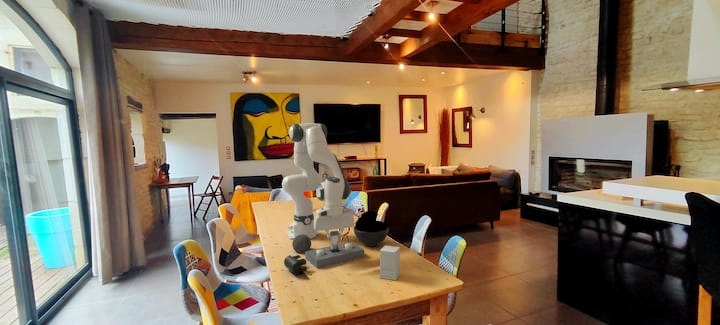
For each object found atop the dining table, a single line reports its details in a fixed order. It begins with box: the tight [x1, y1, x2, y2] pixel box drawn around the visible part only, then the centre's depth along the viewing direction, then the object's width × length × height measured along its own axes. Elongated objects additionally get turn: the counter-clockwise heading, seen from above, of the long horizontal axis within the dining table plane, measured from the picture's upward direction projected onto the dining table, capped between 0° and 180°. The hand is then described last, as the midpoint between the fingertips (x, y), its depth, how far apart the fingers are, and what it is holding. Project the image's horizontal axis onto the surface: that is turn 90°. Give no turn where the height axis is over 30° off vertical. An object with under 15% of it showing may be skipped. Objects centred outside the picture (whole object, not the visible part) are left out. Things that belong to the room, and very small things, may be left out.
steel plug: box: [329, 230, 340, 253], centre depth 164 cm, size 4×4×11 cm
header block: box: [304, 241, 365, 269], centre depth 165 cm, size 14×26×6 cm, turn 122°
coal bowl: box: [353, 210, 390, 247], centre depth 186 cm, size 20×20×19 cm
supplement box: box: [379, 245, 401, 281], centre depth 145 cm, size 7×7×13 cm
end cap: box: [283, 254, 308, 277], centre depth 151 cm, size 10×7×7 cm
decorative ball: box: [292, 234, 312, 254], centre depth 175 cm, size 10×10×10 cm
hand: (334, 237), depth 164 cm, fingers closed on steel plug, 4 cm apart
